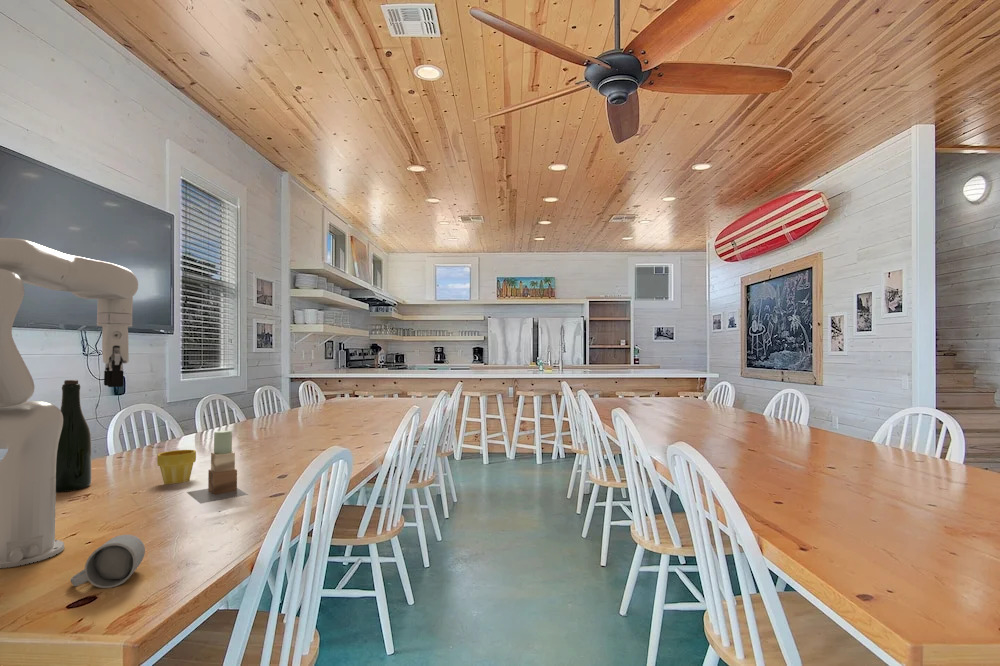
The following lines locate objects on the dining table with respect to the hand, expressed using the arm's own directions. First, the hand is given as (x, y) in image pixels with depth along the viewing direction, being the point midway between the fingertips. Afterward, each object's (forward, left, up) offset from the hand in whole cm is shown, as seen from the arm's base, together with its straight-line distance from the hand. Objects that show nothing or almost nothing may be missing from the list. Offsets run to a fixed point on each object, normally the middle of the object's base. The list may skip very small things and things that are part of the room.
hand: (113, 386), depth 138 cm
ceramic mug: (-50, +6, -33) cm, 60 cm away
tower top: (-3, -26, -26) cm, 36 cm away
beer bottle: (+37, +6, -33) cm, 50 cm away
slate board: (-5, -24, -33) cm, 41 cm away
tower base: (-3, -26, -32) cm, 41 cm away
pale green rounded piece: (-3, -26, -21) cm, 33 cm away
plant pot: (+20, -19, -33) cm, 43 cm away
